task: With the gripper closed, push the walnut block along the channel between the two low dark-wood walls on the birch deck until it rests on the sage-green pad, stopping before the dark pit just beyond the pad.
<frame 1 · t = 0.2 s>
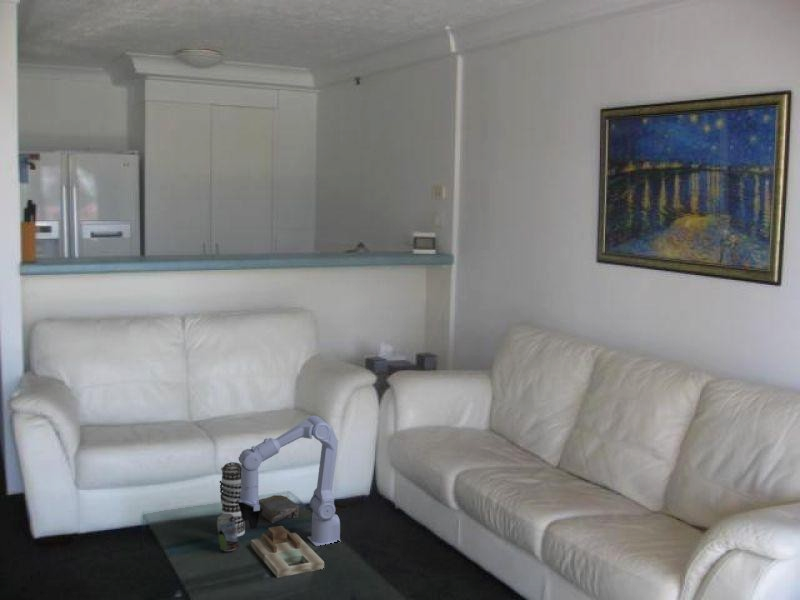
hand: (249, 524, 324), 10 cm above the table, tool pointing down, fingers open, 7 cm apart
block: (277, 540, 330), point 2 cm above the table, touching deck
decorative candle: (233, 533, 341), on the table
beverage can: (227, 549, 327), on the table
deck: (286, 557, 322), on the table
geological specimen: (277, 515, 359), on the table
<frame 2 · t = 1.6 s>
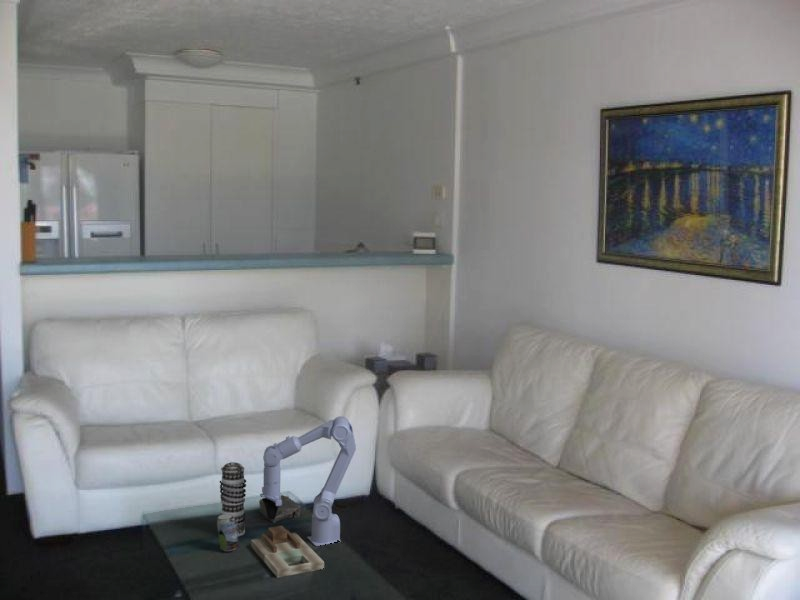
hand: (271, 518, 334), 8 cm above the table, tool pointing down, fingers closed
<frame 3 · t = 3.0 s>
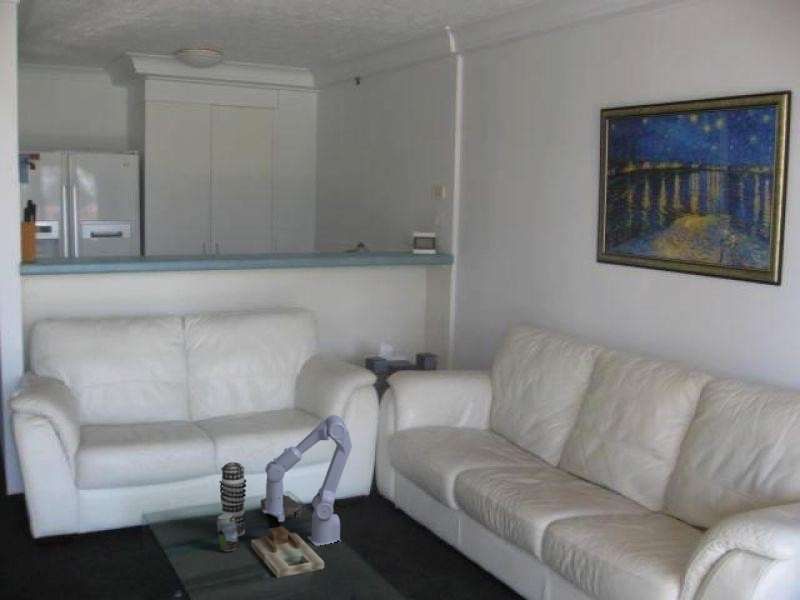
hand: (274, 534, 332), 3 cm above the table, tool pointing down, fingers closed
block: (278, 541, 329), point 2 cm above the table, touching gripper
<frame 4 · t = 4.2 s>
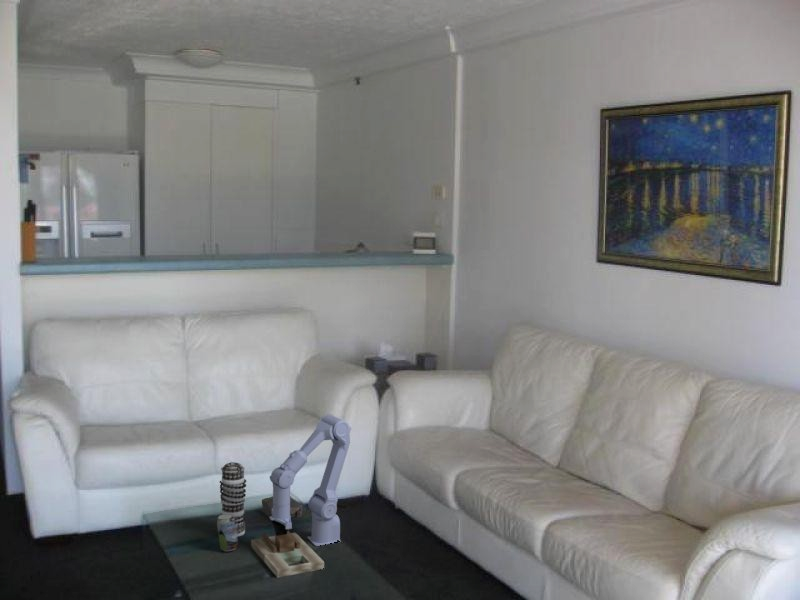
hand: (281, 541, 326), 3 cm above the table, tool pointing down, fingers closed
block: (284, 549, 323), point 2 cm above the table, touching gripper
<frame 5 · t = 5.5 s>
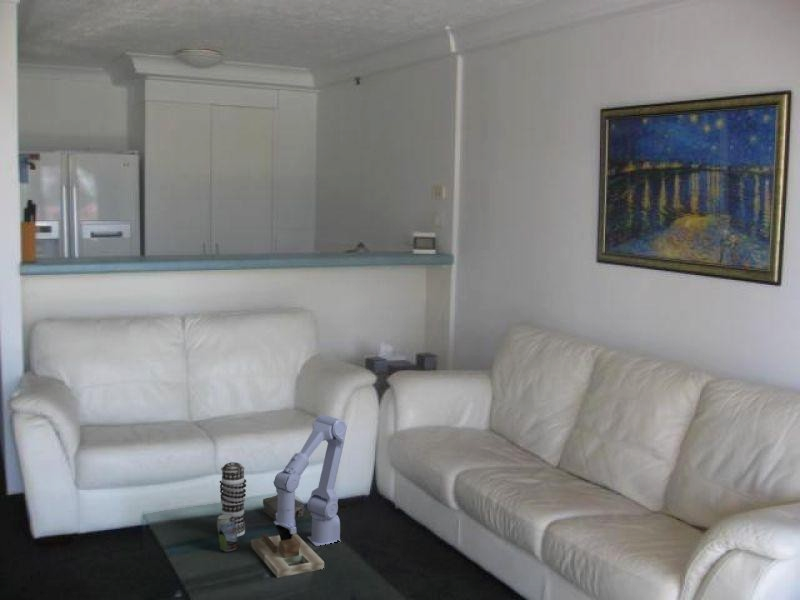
hand: (285, 546, 323), 3 cm above the table, tool pointing down, fingers closed
block: (289, 553, 319), point 2 cm above the table, touching deck, gripper
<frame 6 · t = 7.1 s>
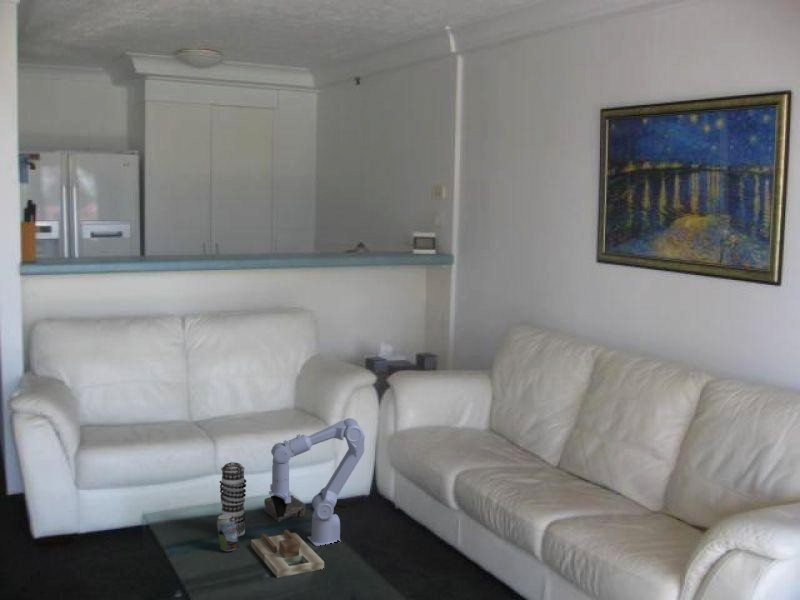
hand: (280, 516, 332), 10 cm above the table, tool pointing down, fingers closed
block: (289, 553, 319), point 2 cm above the table, touching deck
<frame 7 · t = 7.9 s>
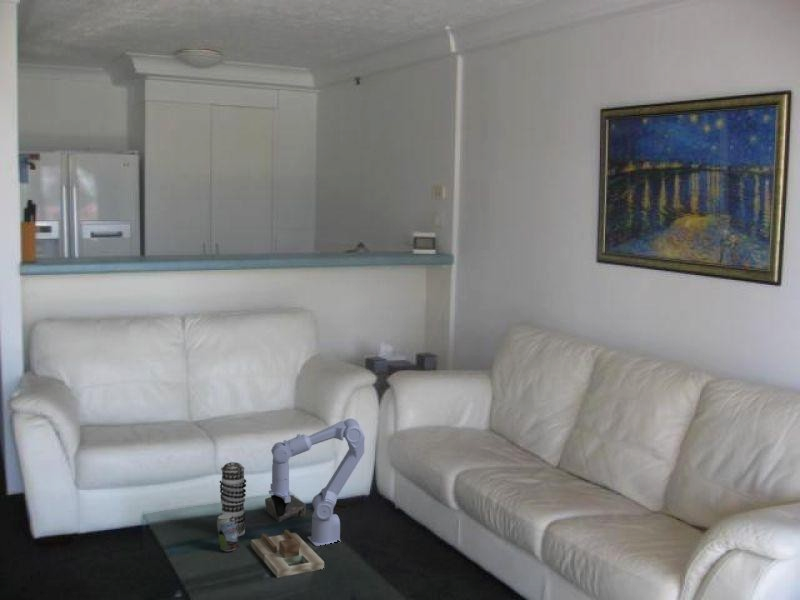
hand: (280, 515, 332), 10 cm above the table, tool pointing down, fingers closed
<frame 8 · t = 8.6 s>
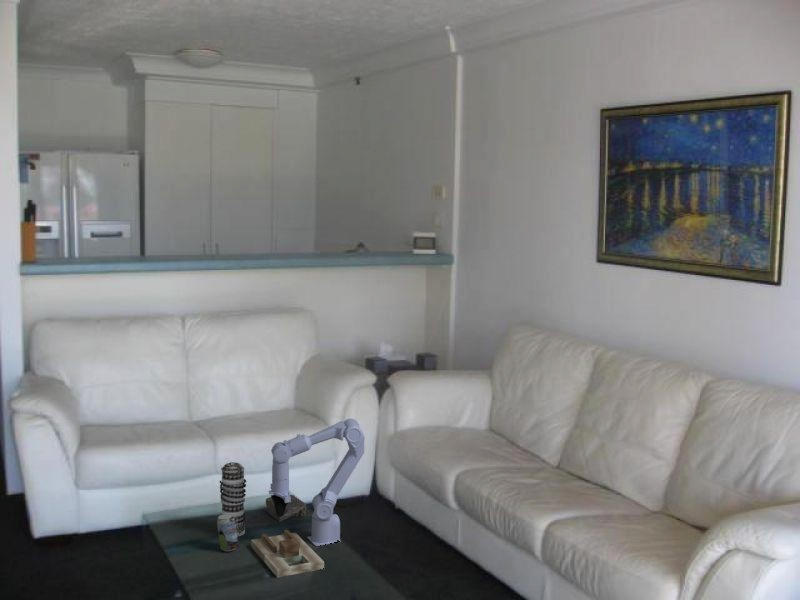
hand: (280, 515, 332), 10 cm above the table, tool pointing down, fingers closed
at the end: block 0.5 cm from the target spot, point 2.4 cm above the table; block tilted 0° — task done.
